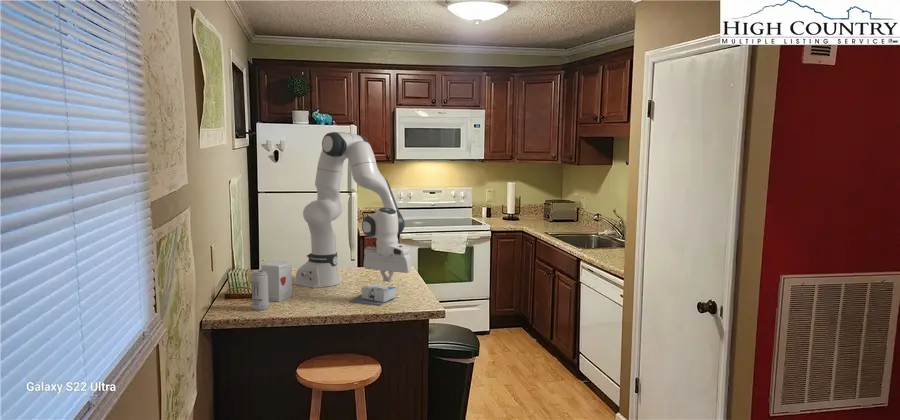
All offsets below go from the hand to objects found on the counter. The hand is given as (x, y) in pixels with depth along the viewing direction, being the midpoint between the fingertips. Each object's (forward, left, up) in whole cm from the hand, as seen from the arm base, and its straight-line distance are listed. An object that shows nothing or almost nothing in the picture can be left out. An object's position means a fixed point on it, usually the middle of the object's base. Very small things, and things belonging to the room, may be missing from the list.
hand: (387, 281), depth 235 cm
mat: (-7, 0, -9) cm, 11 cm away
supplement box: (-45, -12, -9) cm, 47 cm away
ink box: (+1, 0, -6) cm, 6 cm away
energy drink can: (-42, -27, -9) cm, 50 cm away
